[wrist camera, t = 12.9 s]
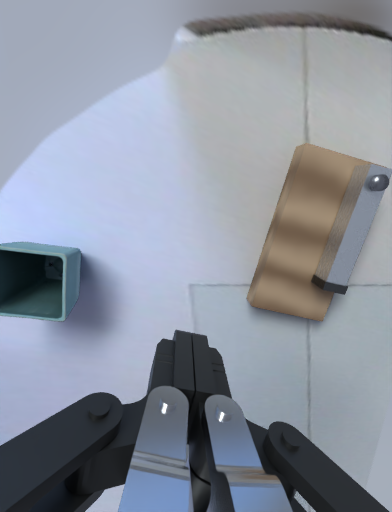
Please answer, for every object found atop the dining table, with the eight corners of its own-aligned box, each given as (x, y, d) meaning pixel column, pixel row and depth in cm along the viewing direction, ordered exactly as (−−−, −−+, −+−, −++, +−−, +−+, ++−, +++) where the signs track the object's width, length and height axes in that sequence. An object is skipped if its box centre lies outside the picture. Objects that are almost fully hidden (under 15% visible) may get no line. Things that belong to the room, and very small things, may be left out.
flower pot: (32, 232, 36) (-16, 244, 28) (93, 239, 37) (66, 254, 28) (33, 287, 38) (-11, 315, 30) (91, 293, 39) (65, 322, 30)
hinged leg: (353, 165, 33) (375, 162, 29) (376, 172, 34) (400, 169, 30) (310, 281, 37) (325, 291, 33) (331, 286, 38) (347, 296, 34)
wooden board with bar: (312, 312, 42) (327, 326, 38) (246, 298, 41) (254, 310, 36) (370, 169, 37) (395, 166, 32) (296, 146, 35) (312, 140, 31)
